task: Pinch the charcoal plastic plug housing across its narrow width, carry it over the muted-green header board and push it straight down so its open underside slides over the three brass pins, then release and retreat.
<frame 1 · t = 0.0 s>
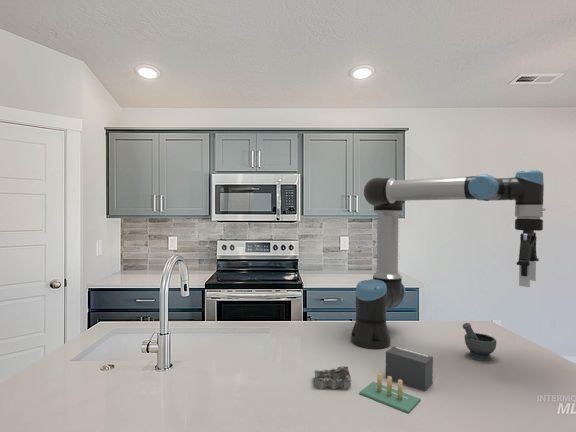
hand: (527, 283, 114), 28 cm above the countertop, fingers open, 13 cm apart
plug housing: (408, 380, 105), on the countertop
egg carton: (332, 385, 103), on the countertop
mortar and pestle: (477, 357, 124), on the countertop
header board: (389, 397, 96), on the countertop
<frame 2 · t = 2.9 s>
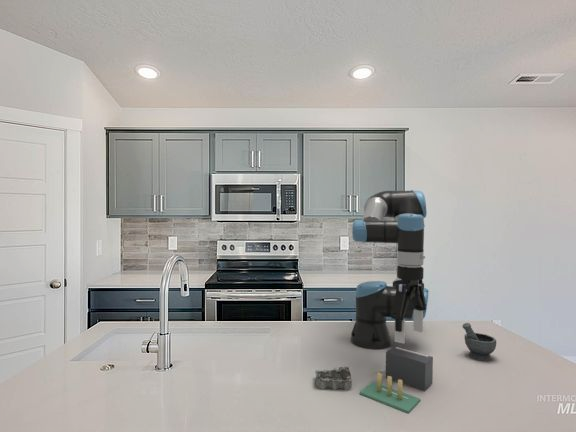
hand: (409, 336, 105), 13 cm above the countertop, fingers open, 13 cm apart
nothing on the countertop moved.
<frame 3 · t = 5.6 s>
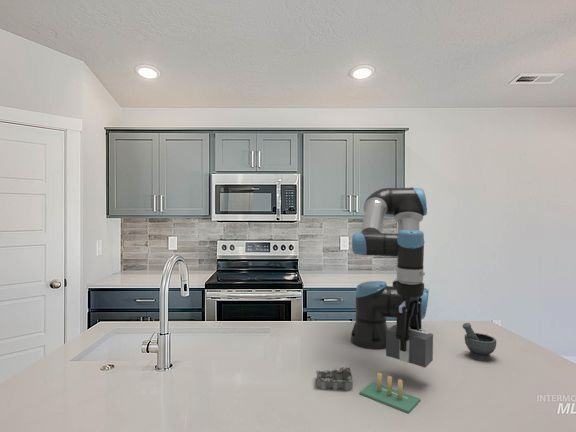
hand: (408, 356, 106), 7 cm above the countertop, fingers closed on plug housing, 6 cm apart
plug housing: (408, 358, 106), point 7 cm above the countertop, touching gripper
everything else where it was.
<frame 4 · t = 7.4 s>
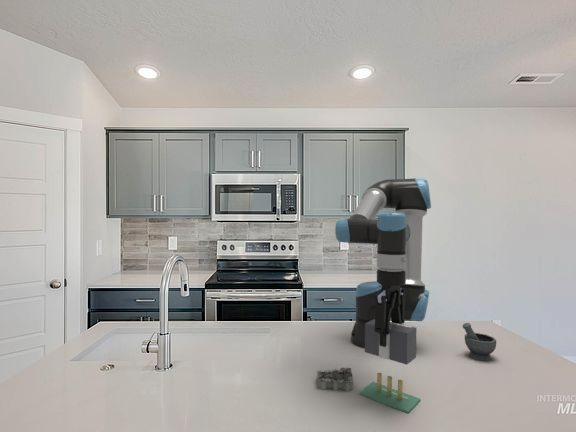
hand: (389, 353, 95), 12 cm above the countertop, fingers closed on plug housing, 6 cm apart
plug housing: (390, 354, 95), point 12 cm above the countertop, touching gripper
everything else where it was.
when the fingers open (2 cm above the countertop, at t = 9.3 s): plug housing drops 1 cm, resting on header board.
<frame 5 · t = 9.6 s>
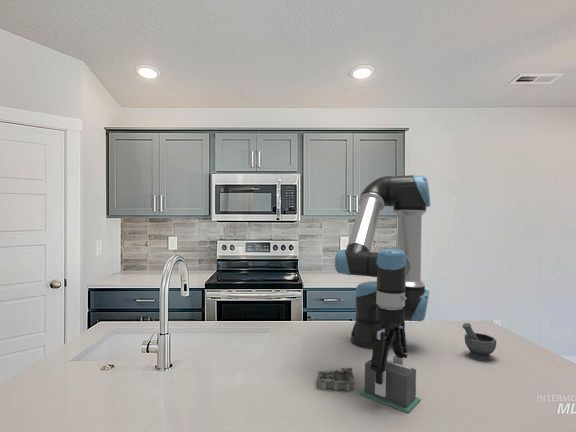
hand: (389, 387, 96), 3 cm above the countertop, fingers open, 10 cm apart
plug housing: (389, 395, 96), point 1 cm above the countertop, touching header board
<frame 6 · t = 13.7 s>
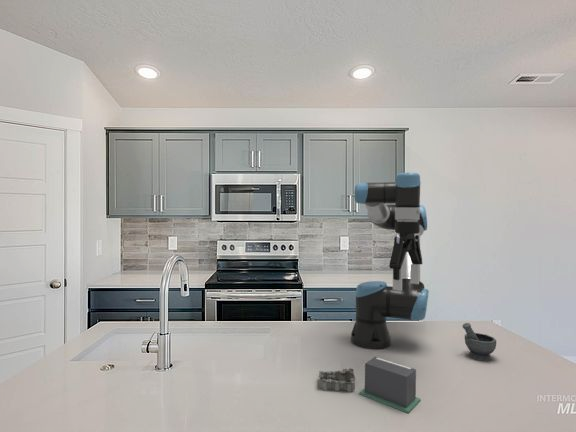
hand: (406, 286, 113), 27 cm above the countertop, fingers open, 13 cm apart
at the end: plug housing 0.1 cm off-centre on the header board, point 0.6 cm above the header board's base; plug housing tilted 0°; the gripper is holding nothing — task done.
